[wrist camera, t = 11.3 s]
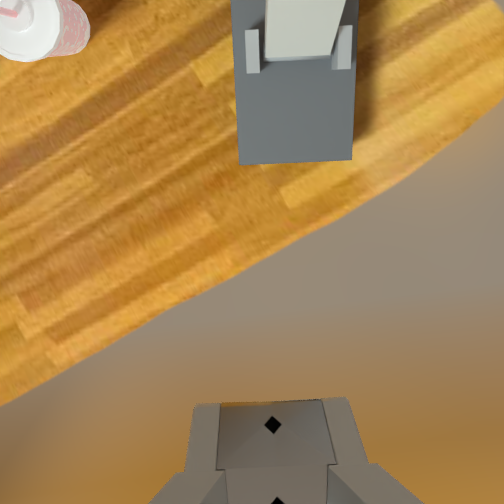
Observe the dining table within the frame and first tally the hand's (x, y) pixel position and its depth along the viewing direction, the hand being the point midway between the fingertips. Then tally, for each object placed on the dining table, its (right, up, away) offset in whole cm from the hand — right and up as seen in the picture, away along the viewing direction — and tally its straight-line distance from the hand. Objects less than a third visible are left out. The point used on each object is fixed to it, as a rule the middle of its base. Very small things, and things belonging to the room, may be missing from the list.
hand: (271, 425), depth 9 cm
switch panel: (+3, +22, +31) cm, 38 cm away
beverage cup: (-17, +24, +30) cm, 42 cm away
